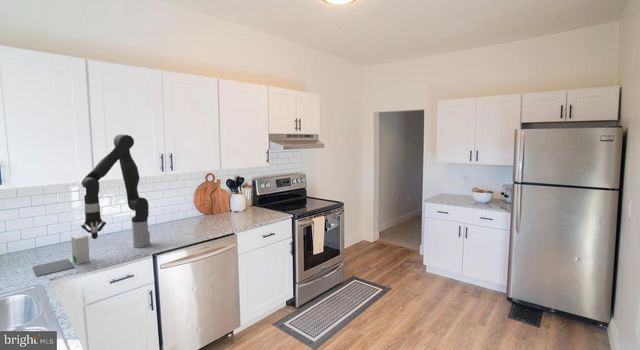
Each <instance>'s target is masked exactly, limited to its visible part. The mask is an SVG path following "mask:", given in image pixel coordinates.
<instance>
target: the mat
mask: <svg viewBox="0 0 640 350" xmlns="http://www.w3.org/2000/svg"><path fill="white" fill-rule="evenodd" d="M32 268H33V270H34V273H35V275H36V278H38V276H39V277H42V275H43V276H46V275H50V274H56V273H60V272H63V271H68V270H72V269H75V266H74V264H73V263H72V262H71V260H70V259H69V258H65V259H60V260H56V261H55V260H54V261H50V262H47V263H42V264H37V265H33V266H32Z"/></svg>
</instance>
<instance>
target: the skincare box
mask: <svg viewBox="0 0 640 350" xmlns="http://www.w3.org/2000/svg"><path fill="white" fill-rule="evenodd" d="M70 239H71V251H72V253H71V254H72V262H74V263H75V264H76V265H81V264H84V263H88V262H91V261H90V260H91V259H90V246H89V245H90V243H89V236H88V235H87V234H85V233H80V234H75V235H74V234H73V235H71V236H70Z"/></svg>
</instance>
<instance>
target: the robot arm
mask: <svg viewBox="0 0 640 350" xmlns="http://www.w3.org/2000/svg"><path fill="white" fill-rule="evenodd" d="M134 144H135V140H134V137H132V136H131V135H129V134H118V135H115V136H114V139H113V145H114V148H113V150H111V151H110V152H108V154H106V156H104V157H103V158H102V159H101V160H100V161H99V162H98V163H97V164H96V165H95V167H94V168H93V169H92V170H91V171H90V172H88V173H87V175H86V176H85V177H84V178H83V179H82V181H81V186H82V187H83V188H85V194H84V215H85V216H84V217H85V221H84V223H83V224H81V225H80V227H81V228H82V229H83V230H84V231H86V232H87V233H88V234H91V239H93V240H96V239H97V238H98V237H99V236H98V233H99V232H101V231H102V230H103V228H104V227H105V226H106V224H107V222H106V221H103V220H102V218H101V216H102V215H101V206H100V200H99V199H100V197H99V194H100V182H99V181H100V180H101V179H102V178H104V177H105V176H107V174H108V173H109V172H110V170H111V169H112V168H113V167H114V165H115V164H116V163H117V162H119V164H120V169H121V170H120V171H121V174H122V179H123V182H124V187H125V190H126V191H125V192H126V198H127V199H126V200H127V205H128V206H127V207H128V209H130V210H132V211H135V215H134V216H132V217H131V227H132V229H131V230H132V241H133V247H134V248H135V249H140V248H146V247H148V246H150V245H151V235H150V234H151V233H150V230H149V221H148V218H149V215H150V212H149V207H150V206H149V202H148V201H149V200H148V199H146V198H145V197H141V196H140V194H139V191H138V185H139V183H140V173H139V168H138V166H137V164H136V162H135V160H134V159H133V157H132V154H131V151H130V150H131V148H132V147H133V146H134ZM87 227H89V229H88V228H87Z"/></svg>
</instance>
